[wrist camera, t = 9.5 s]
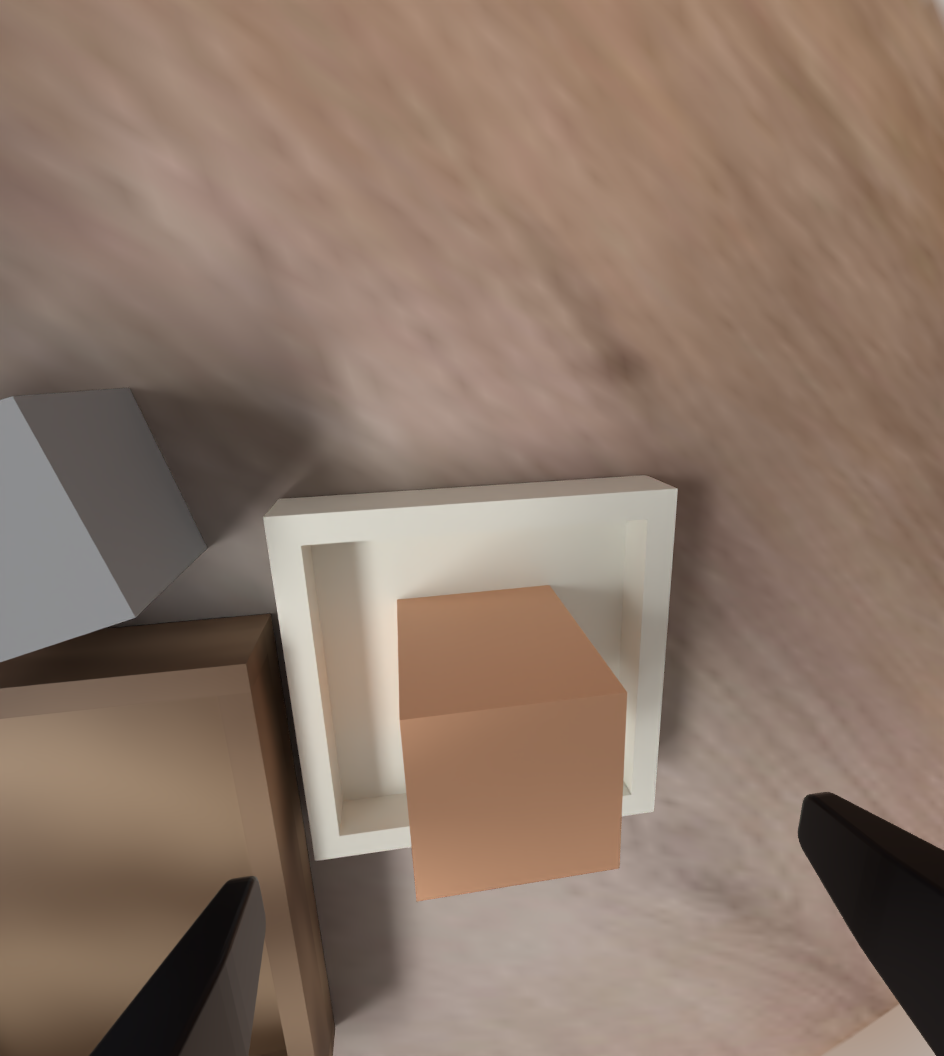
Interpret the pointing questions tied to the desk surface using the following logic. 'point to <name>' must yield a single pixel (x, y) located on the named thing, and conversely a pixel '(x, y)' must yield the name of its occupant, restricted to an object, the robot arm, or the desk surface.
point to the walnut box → (148, 829)
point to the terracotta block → (507, 742)
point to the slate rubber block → (83, 517)
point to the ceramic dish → (442, 569)
